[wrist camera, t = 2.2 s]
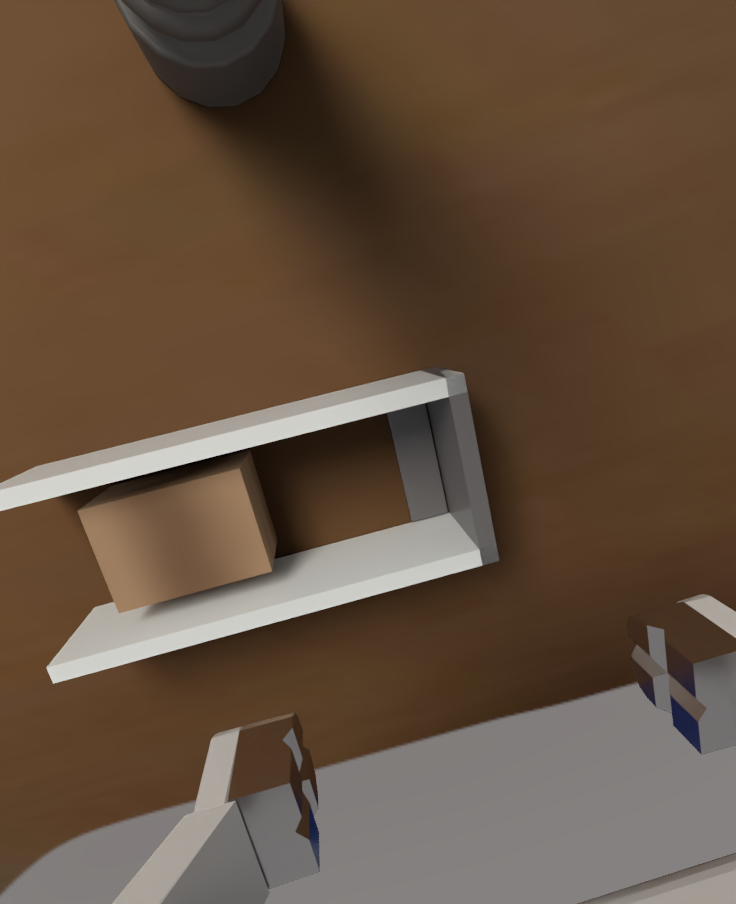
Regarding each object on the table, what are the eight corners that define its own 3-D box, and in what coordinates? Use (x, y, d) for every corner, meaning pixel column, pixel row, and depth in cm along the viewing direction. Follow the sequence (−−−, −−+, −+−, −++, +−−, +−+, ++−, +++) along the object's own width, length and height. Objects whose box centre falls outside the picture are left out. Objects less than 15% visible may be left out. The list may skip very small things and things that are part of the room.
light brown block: (250, 448, 26) (239, 468, 22) (277, 537, 27) (272, 571, 23) (113, 484, 25) (77, 510, 21) (146, 573, 26) (118, 613, 23)
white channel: (434, 366, 26) (464, 373, 21) (465, 521, 28) (499, 561, 23) (36, 466, 24) (-31, 497, 20) (100, 620, 26) (53, 683, 22)
